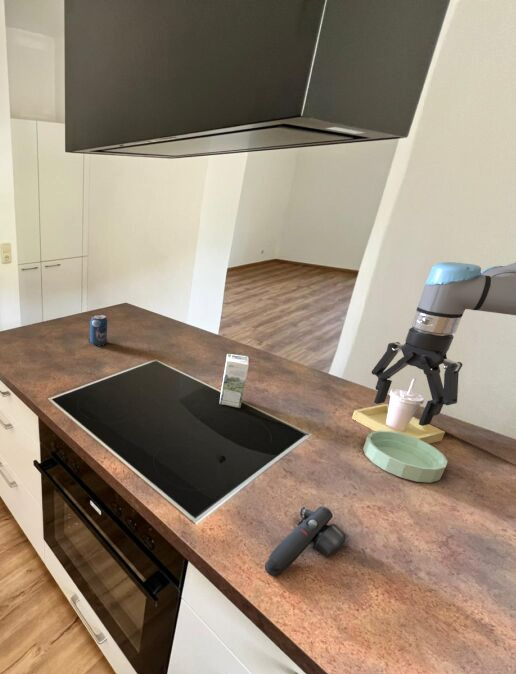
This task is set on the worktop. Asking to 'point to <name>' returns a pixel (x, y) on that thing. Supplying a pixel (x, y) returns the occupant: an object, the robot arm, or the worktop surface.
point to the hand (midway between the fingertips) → (400, 412)
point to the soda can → (98, 329)
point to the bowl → (405, 456)
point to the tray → (377, 421)
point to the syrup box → (234, 380)
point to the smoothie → (402, 407)
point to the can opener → (306, 540)
